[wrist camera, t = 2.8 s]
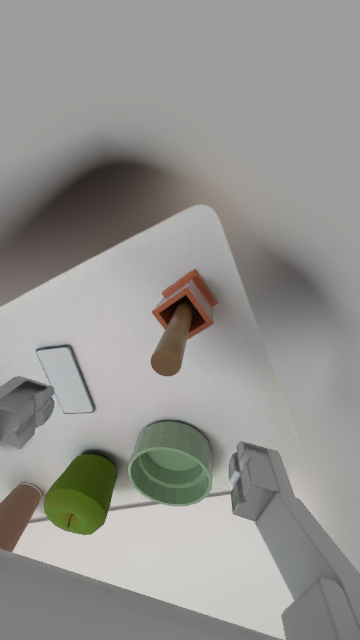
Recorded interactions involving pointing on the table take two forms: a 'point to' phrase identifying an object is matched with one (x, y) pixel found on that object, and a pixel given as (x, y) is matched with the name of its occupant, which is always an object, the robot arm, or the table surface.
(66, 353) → the smartphone
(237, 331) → the table surface
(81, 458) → the apple
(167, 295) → the utensil holder
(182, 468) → the green round dish
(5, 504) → the coffee cup
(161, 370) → the stirring stick
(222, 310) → the table surface
